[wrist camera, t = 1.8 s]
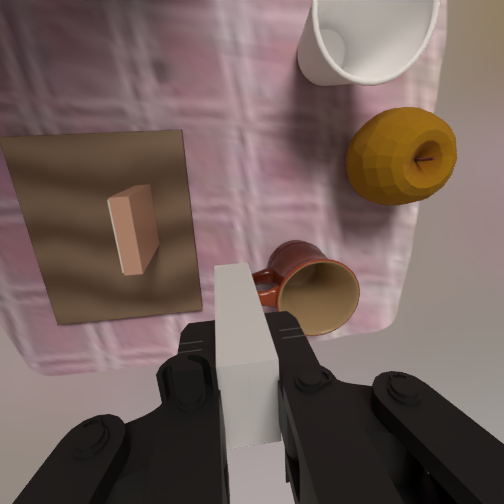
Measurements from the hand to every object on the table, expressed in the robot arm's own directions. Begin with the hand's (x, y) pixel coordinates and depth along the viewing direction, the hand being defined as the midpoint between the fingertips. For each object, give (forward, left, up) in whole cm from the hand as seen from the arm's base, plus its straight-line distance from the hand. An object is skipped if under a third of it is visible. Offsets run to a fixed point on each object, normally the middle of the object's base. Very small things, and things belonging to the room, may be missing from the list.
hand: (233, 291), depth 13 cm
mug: (+9, +7, -24) cm, 26 cm away
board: (+3, -13, -24) cm, 27 cm away
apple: (-4, +18, -24) cm, 30 cm away
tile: (+1, -9, -22) cm, 24 cm away
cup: (-15, +12, -24) cm, 31 cm away
